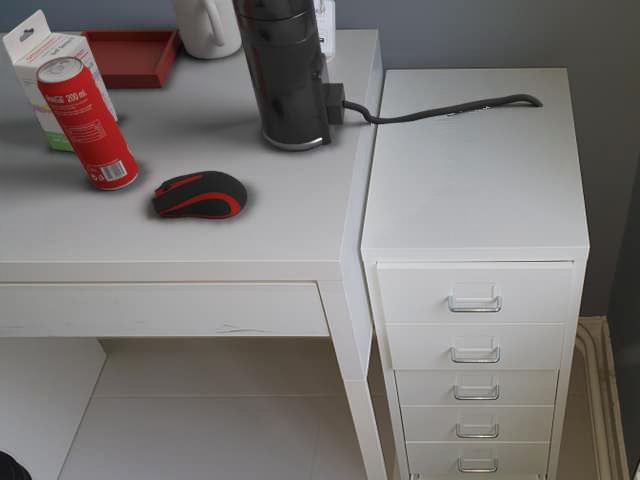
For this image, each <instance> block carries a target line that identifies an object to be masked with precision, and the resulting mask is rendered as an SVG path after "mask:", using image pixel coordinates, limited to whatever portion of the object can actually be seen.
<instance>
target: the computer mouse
mask: <svg viewBox="0 0 640 480" xmlns="http://www.w3.org/2000/svg"><path fill="white" fill-rule="evenodd" d="M248 196H249V195H248V191H247V188H246V187H245V185H244V184H243V183H242V182H241V181H240V180H239V179H237V178H236V177H234V176H233V175H231V174H229V173H226V172H223V171H219V170H203V171H196V172H191V173H187V174H183V175H178V176H175V177H172V178H170V179H166V180H165V181H163V182H162V183H161V185H159V187H158V188H156V189H154V197H153V198H151V202H152V207H153V211H155V212H156V213H157V214H159V215H160V216H162V217H164V218H183V217H196V218H203V219H225V218H230V217H235V216H236V215H237V214H239V213H240V212H241V211H242V210H244V208H245V207H246V205H247V203H248Z"/></svg>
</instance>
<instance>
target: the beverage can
mask: <svg viewBox="0 0 640 480" xmlns="http://www.w3.org/2000/svg"><path fill="white" fill-rule="evenodd" d="M35 76H36V79H37V86H38V89H39V90H40V92H41V94H42V96H43V97H44V99H45V101H46V102H47V104H48V106H49V108H50V109H51V111H52V113H53V115H54V116H55V118H56V120H57V122H58V123H59V125H60V127H61V129H62V130H63V132H64V134H65V136H66V137H67V139H68V141H69V143H70V144H71V146H72V148H73V150H74V151H75V152H74V154H75V155H76V157H77V158H78V160H79V162H80V164H81V165H82V167H83V169H84V170H85V172H86V174H87V176H88V177H89V179H90V181H91V183H92V185H94V186H95V187H97V188H99V189H101V190H105V191H114V190H115V191H116V190H120V189H122V188H124V187H127V186H129V185H130V184H132V183H133V182H134V181H135V180H136V178H137V177H138V175H139V165H138V163H137V161H136V159H135V157H134V155H133V153H132V151H131V149H130V147H129V145H128V143H127V141H126V139H125V137H124V134H123V133H122V131H121V128H120V127H119V125H118V123H117V121H115V119H114V117H113V115H112V113H111V111H110V109H109V107H108V105H107V103H106V101H105V99H104V97H103V95H102V93H101V91H100V89H99V87H98V85H97V83H96V81H95V79H94V77H93V75H92V73H91V71H90V70H89V68H87V67H86V66H85V65H84V64H83V62H82V61H81V60H80V59H78V58H76V57H70V56H65V57H58V58H54V59H51V60H49V61H47V62H45V63H43V64H42V65H40V66H39V67H38V68H37V70H36V72H35Z"/></svg>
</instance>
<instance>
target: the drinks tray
mask: <svg viewBox="0 0 640 480" xmlns="http://www.w3.org/2000/svg"><path fill="white" fill-rule="evenodd" d="M79 36H83V37H86V40H87V42H88V45H89V47H90V50H91V52H92V55H93V57H94V60H95V62H96V65H97V68H98V70H99V73H100V75H101V78H102V80H103V83H104V85H105V88H106V89H160V88H163V86H164V84H165V82H166V80H167V77H168V75H169V73H170V71H171V68H172V66H173V64H174V62H175V59H176V57H177V54H178V52H179V51H180V48H181V45H182V43H183V41H182V38H181V34H180V31H179V30H178V29H83V30H82V32H81V33H80V34H79Z"/></svg>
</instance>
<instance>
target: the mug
mask: <svg viewBox="0 0 640 480" xmlns="http://www.w3.org/2000/svg"><path fill="white" fill-rule="evenodd" d="M170 2H171V5H172V8H173V12H174V15H175V19H176V22H177V24H178V28H179V33H180V37H181V40H182V43H183V45H184V49H185V51H186V52H187V53H188V55H190V56H192V57H194V58H197V59H202V60H216V59H222V58H225V57H226V58H227V57H228V56H231V55H233V54H235V53H236V52H238V50H239V49H240V48H241V46H242V40H241V35H240V31H239V27H238V23H237V19H236V14H235V10H234V6H233V2H232V0H170Z"/></svg>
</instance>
